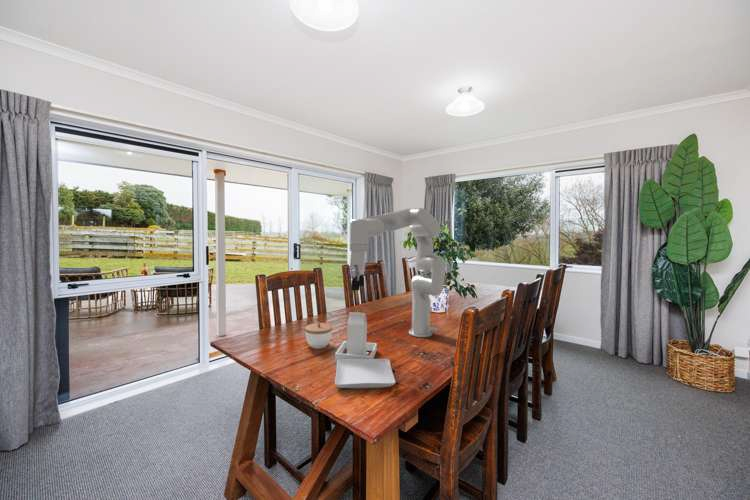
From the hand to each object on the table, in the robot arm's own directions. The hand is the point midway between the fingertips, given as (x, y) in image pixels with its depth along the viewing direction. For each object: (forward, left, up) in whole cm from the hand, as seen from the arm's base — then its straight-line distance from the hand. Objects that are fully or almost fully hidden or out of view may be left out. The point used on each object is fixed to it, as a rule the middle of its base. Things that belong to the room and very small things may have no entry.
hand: (358, 287), depth 138 cm
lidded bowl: (+20, -8, -30) cm, 37 cm away
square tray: (0, 0, -30) cm, 30 cm away
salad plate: (-7, +19, -31) cm, 37 cm away
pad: (0, 0, -30) cm, 30 cm away
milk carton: (0, 0, -30) cm, 30 cm away
